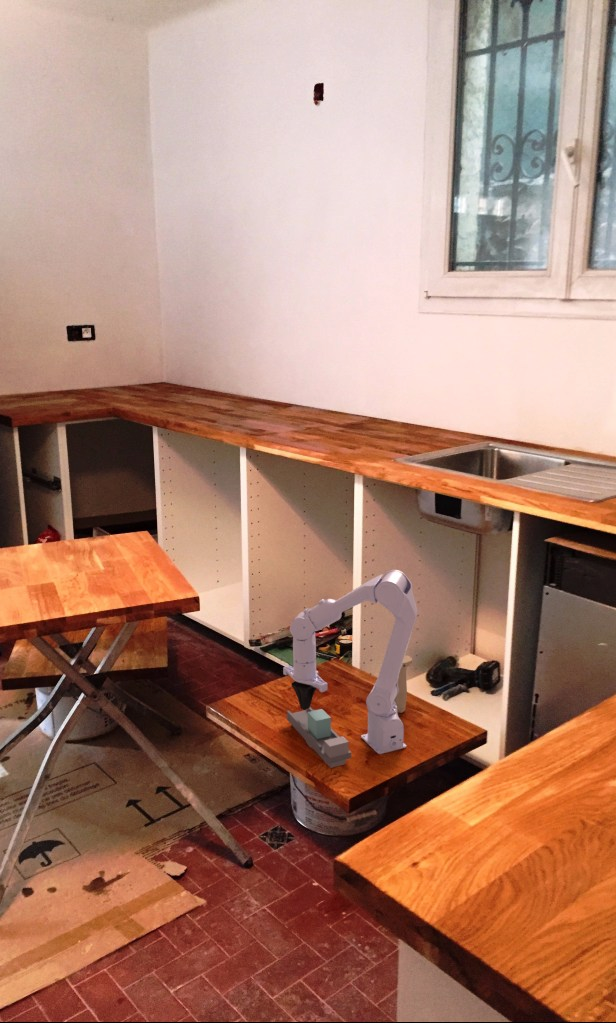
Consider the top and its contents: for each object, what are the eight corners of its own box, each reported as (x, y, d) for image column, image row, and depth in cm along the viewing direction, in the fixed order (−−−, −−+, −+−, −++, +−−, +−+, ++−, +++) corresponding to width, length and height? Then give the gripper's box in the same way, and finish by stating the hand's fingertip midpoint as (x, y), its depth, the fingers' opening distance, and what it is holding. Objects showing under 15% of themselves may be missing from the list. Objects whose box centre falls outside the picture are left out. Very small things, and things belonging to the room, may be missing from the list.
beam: (351, 763, 204) (351, 741, 202) (327, 769, 201) (327, 747, 200) (309, 719, 225) (309, 698, 224) (287, 724, 222) (286, 703, 221)
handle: (384, 709, 230) (385, 657, 227) (405, 704, 233) (406, 653, 229) (392, 717, 226) (393, 664, 222) (413, 712, 228) (415, 660, 224)
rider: (330, 735, 210) (330, 717, 209) (316, 739, 209) (316, 720, 207) (322, 726, 215) (322, 708, 213) (307, 730, 213) (307, 712, 212)
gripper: (336, 662, 212) (336, 712, 216) (297, 646, 223) (298, 693, 226) (315, 671, 208) (316, 722, 211) (276, 653, 218) (277, 702, 221)
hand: (305, 708), depth 218 cm, fingers closed
